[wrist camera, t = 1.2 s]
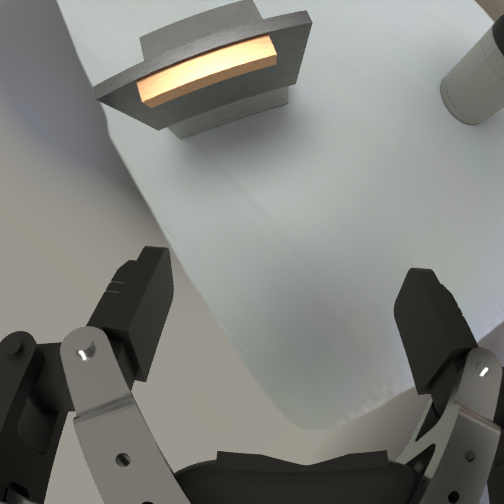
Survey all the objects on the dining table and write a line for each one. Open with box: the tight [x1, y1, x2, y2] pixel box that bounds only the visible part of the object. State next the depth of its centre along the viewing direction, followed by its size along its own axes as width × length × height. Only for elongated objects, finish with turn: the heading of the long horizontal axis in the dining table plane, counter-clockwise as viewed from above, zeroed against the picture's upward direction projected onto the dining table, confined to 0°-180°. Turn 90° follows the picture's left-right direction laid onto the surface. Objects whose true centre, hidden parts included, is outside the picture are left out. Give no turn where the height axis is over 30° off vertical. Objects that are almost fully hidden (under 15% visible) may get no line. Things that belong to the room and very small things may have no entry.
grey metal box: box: [140, 0, 288, 140], centre depth 37 cm, size 16×14×9 cm
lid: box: [94, 10, 312, 131], centre depth 26 cm, size 17×15×3 cm
